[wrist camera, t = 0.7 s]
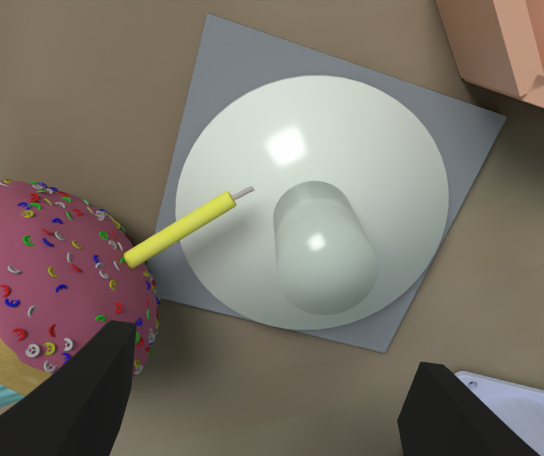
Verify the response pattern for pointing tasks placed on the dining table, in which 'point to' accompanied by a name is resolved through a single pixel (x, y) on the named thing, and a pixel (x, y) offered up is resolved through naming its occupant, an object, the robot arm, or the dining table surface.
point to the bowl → (498, 45)
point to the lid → (314, 202)
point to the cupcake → (74, 279)
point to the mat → (292, 62)
